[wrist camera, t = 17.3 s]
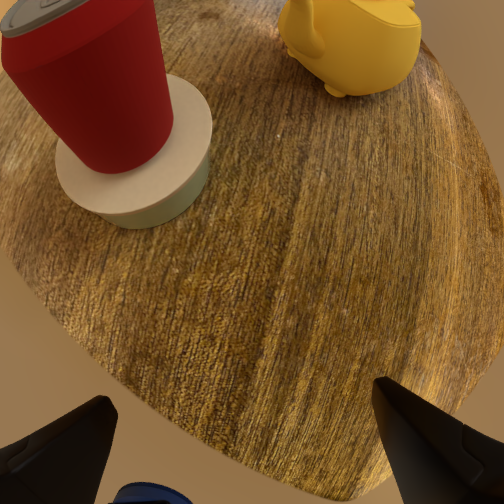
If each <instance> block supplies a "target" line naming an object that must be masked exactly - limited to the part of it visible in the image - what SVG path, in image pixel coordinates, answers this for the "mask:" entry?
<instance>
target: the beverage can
mask: <svg viewBox="0 0 504 504" xmlns="http://www.w3.org/2000/svg"><path fill="white" fill-rule="evenodd" d="M0 31H1V33H2V47H1V52H2V53H1V60H2V66H3V68H4V70H5V71H6V72H7V74H8V75H9V77H10V78H11V79H12V81H13V82H14V83H15V84H16V86H17V87H18V88H19V90H20V91H21V92H22V94H23V95H24V96H25V97H26V99H27V100H28V101H29V102H30V104H31V105H32V106H33V107H34V108H35V110H36V111H37V112H38V113H39V114H40V116H41V117H42V118H43V119H44V120H45V122H46V123H47V124H48V125H49V126H50V127H51V128H52V130H53V131H54V132H55V133H56V134H57V135H58V136H59V137H60V138H61V140H62V141H63V142H64V143H65V144H66V145H67V146H68V147H69V148H70V149H71V150H72V151H73V153H74V154H75V155H76V156H77V157H78V158H79V159H80V160H81V161H82V162H83V163H84V164H85V165H86V166H87V167H89V168H90V169H92V170H94V171H96V172H99V173H104V174H118V173H123V172H127V171H130V170H133V169H135V168H137V167H139V166H141V165H143V164H144V163H146V162H147V161H149V160H150V159H151V158H152V157H154V156H155V155H156V154H157V153H158V152H159V151H160V150H161V148H162V147H163V146H164V144H165V143H166V141H167V140H168V138H169V136H170V133H171V130H172V127H173V120H174V116H173V110H172V104H171V99H170V93H169V88H168V82H167V77H166V71H165V66H164V60H163V54H162V49H161V43H160V37H159V31H158V25H157V20H156V14H155V8H154V2H153V0H18V1H17V2H16V3H15V4H14V5H13V6H12V7H11V8H10V9H9V10H8V12H7V13H6V14H5V16H4V17H3V19H2V21H1V23H0Z"/></svg>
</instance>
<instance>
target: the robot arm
mask: <svg viewBox="0 0 504 504" xmlns="http://www.w3.org/2000/svg"><path fill="white" fill-rule="evenodd" d="M371 399H372V405H373V409H374V413H375V417H376V421H377V425H378V429H379V433H380V437H381V441H382V444H383V447H384V450H385V452H386V455H387V458H388V460H389V463H390V466H391V468H392V471H393V474H394V476H395V479H396V482H397V485H398V488H399V491H400V494H401V497H402V499H403V502H404V504H504V443H502V442H499V441H497V440H495V439H493V438H490V437H488V436H486V435H484V434H482V433H480V432H478V431H476V430H475V429H473V428H471V427H469V426H468V425H466V424H464V425H463V423H462V422H461V421H459V420H457V419H455V418H454V417H452V416H450V415H449V414H447V413H445V412H444V411H442V410H440V409H439V408H437V407H436V406H434V405H432V404H431V403H429V402H427V401H426V400H424V399H422V398H421V397H419V396H418V395H416V394H414V393H413V392H411V391H410V390H408V389H406V388H405V387H403V386H402V385H400V384H398V383H397V382H395V381H394V380H392V379H390V378H389V377H387V376H383V377H380V378H376V379H374V381H373V388H372V397H371ZM117 420H118V413H117V410H116V409H115V407H114V405H113V404H112V402H111V400H110V398H109V397H107V396H102V395H98V396H96V397H94V398H92V399H91V400H89V401H88V402H86V403H84V404H82V405H81V406H79V407H77V408H76V409H74V410H72V411H71V412H69V413H67V414H65V415H64V416H62V417H60V418H58V419H57V420H55V421H53V422H52V423H50V424H48V425H46V426H45V427H43V428H41V429H39V430H37V431H35V432H34V433H32V434H30V435H28V436H26V437H24V438H23V439H21V440H19V441H17V442H15V443H13V444H10V445H8V446H6V447H4V448H1V449H0V504H94V502H95V498H96V495H97V491H98V488H99V485H100V481H101V478H102V475H103V471H104V469H105V466H106V463H107V460H108V457H109V453H110V450H111V446H112V441H113V437H114V433H115V428H116V424H117ZM108 504H171V503H170V502H169V501H167V500H156V501H144V502H127V503H108Z"/></svg>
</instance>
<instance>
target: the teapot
mask: <svg viewBox="0 0 504 504" xmlns="http://www.w3.org/2000/svg"><path fill="white" fill-rule="evenodd" d="M414 8H415V4H414V2H413V1H412V0H288V1H287V2H286V4H285V6H284V7H283V9H282V12H281V14H280V17H279V20H278V29H279V32H280V35H281V37H282V39H283V41H284V43H285V44H286V46H287V47H288V49H287V53H288V54H289V55H290V56H291V57H293V58H295V59H297V60H298V61H299V62H300V63H301V64H302V65H303V66H304V67H305V68H307V69H308V70H309V71H310V72H311V73H313V74H314V75H315V76H317V77H318V78H319V79H321V80H322V81H324V82H325V84H324V87H325V89H326V90H327V92H328V93H330V94H331V95H333V96H335V97H344V96H346V94H348V95H352V96H360V95H368V94H373V93H377V92H381V91H385V90H388V89H390V88H392V87H394V86H396V85H397V84H399V83H401V82H402V81H403V80H404V79H405V78H406V77H407V76H408V74H409V73H410V71H411V69H412V67H413V65H414V63H415V61H416V58H417V55H418V51H419V47H420V39H421V21H420V19H419V18H418V17H417V15H416V14H415V13H414V12H413V10H414Z"/></svg>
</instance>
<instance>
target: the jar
mask: <svg viewBox="0 0 504 504" xmlns="http://www.w3.org/2000/svg"><path fill="white" fill-rule="evenodd" d="M166 77H167V82H168V88H169V93H170V99H171V104H172V110H173V116H174V120H173V127H172V130H171V133H170V136H169V138H168V140H167V141H166V143H165V144H164V146H163V147H162V148H161V150H160V151H159V152H158V153H157V154H156V155H155V156H154V157H152V158H151V159H150V160H149V161H147V162H146V163H144V164H143V165H141V166H139V167H137V168H135V169H133V170H130V171H127V172H123V173H118V174H104V173H99V172H96V171H94V170H92V169H90V168H89V167H87V166H86V165H85V164H84V163H83V162H82V161H81V160H80V159H79V158H78V157H77V156H76V155H75V154H74V153H73V151H72V150H71V149H70V148H69V147H68V146H67V145H66V144H65V143H64V142H63V141H62V140H61V138H60V137H59V140H58V144H57V149H56V157H55V165H56V173H57V176H58V180H59V182H60V184H61V187H62V189H63V190H64V191H65V193H66V194H67V196H68V197H69V198H70V199H71V200H72V201H73V202H75V203H76V204H78V205H79V206H81V207H82V208H84V209H86V210H88V211H90V212H92V213H95V214H97V215H98V216H99V217H101V218H102V219H104V220H105V221H107V222H108V223H110V224H113V225H115V226H118V227H121V228H126V229H145V228H151V227H155V226H158V225H161V224H163V223H166V222H168V221H170V220H171V219H173V218H175V217H177V216H178V215H179V214H181V213H182V212H183V211H185V210H186V209H187V208H188V207H189V206H190V205H191V204H192V203H193V202H194V200H195V199H196V198H197V197H198V195H199V194H200V192H201V191H202V189H203V187H204V185H205V183H206V180H207V177H208V174H209V169H210V158H211V157H210V144H211V139H212V115H211V112H210V108H209V106H208V103H207V101H206V99H205V98H204V97H203V95H202V94H201V92H200V91H199V90H198V89H197V88H196V87H195V86H193V85H192V84H190V83H189V82H187V81H186V80H184V79H182V78H179V77H177V76H174V75H170V74H166Z"/></svg>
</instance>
